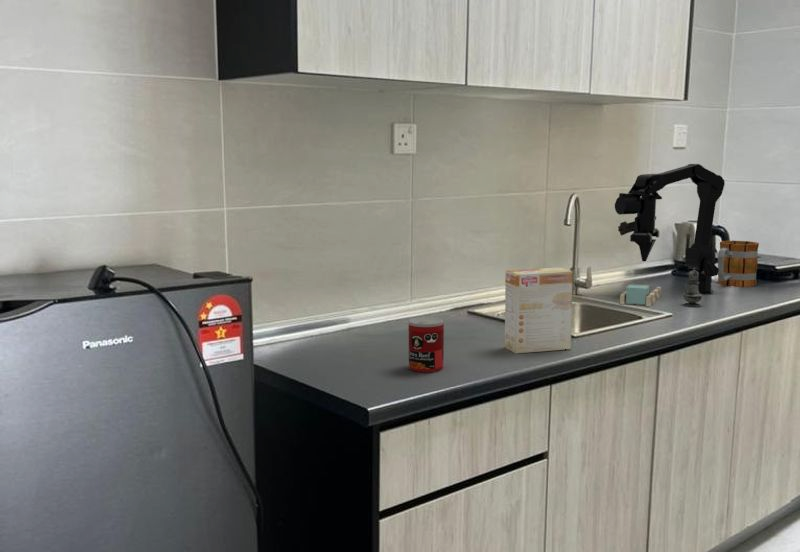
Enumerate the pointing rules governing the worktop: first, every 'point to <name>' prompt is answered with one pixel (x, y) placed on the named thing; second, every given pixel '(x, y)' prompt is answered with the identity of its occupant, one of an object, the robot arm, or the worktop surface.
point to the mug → (737, 263)
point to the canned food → (426, 344)
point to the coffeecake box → (538, 310)
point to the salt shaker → (692, 290)
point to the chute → (649, 299)
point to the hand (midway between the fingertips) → (644, 261)
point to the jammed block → (637, 294)
